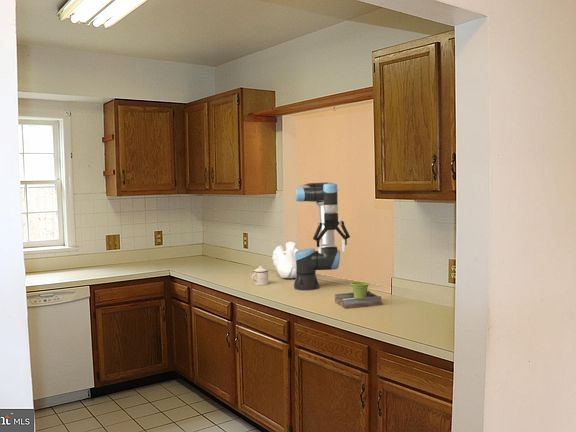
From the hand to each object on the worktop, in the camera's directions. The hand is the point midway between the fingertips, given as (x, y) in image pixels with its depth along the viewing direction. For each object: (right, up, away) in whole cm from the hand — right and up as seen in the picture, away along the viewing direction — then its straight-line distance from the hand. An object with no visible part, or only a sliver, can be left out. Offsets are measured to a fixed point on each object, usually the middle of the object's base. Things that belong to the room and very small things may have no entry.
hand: (331, 252), depth 288 cm
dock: (+13, -27, -5) cm, 30 cm away
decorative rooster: (-24, -22, +75) cm, 82 cm away
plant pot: (+15, -25, -4) cm, 29 cm away
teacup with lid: (-41, -24, +54) cm, 72 cm away
